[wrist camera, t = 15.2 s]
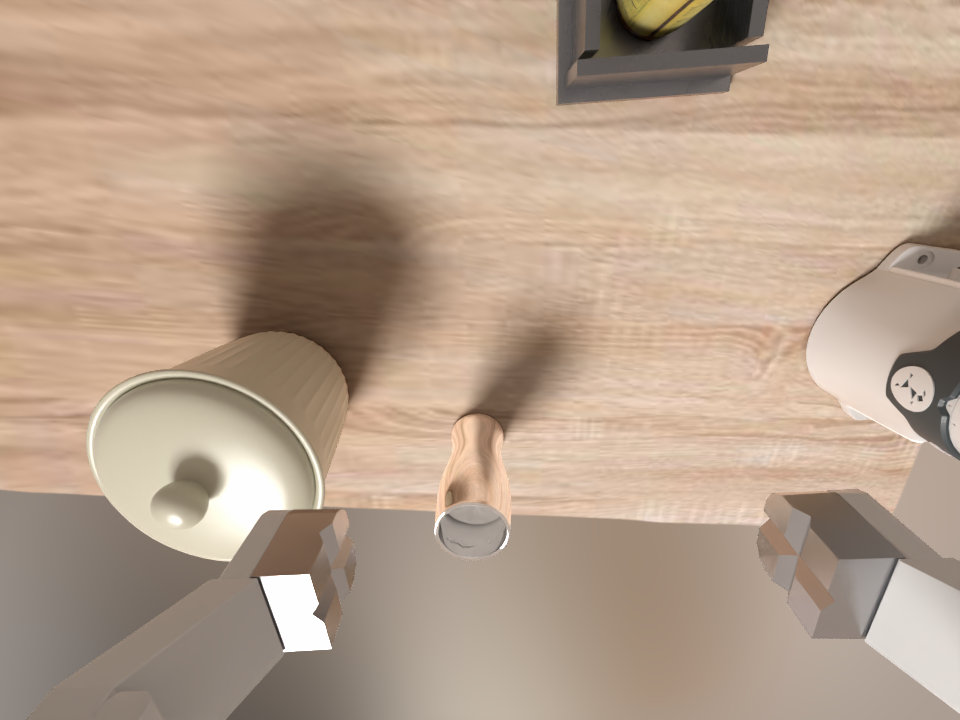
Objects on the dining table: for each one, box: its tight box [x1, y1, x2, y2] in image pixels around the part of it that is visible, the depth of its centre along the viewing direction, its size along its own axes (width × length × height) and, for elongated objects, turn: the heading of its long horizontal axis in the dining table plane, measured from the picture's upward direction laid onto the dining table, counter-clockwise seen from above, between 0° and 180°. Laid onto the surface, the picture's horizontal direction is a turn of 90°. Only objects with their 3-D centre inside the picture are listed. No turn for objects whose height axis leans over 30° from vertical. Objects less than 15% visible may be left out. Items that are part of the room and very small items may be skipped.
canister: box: [86, 331, 349, 561], centre depth 40 cm, size 18×18×21 cm
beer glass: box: [434, 413, 511, 561], centre depth 45 cm, size 7×7×15 cm
